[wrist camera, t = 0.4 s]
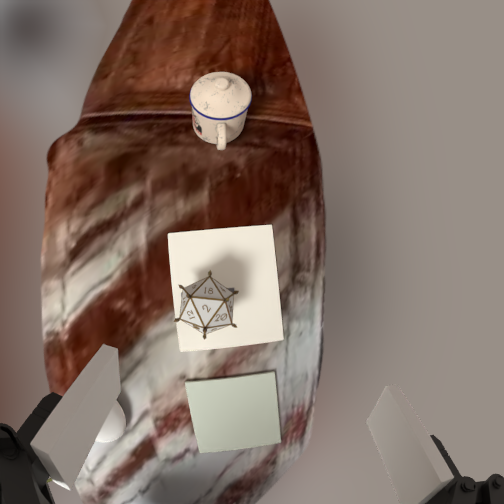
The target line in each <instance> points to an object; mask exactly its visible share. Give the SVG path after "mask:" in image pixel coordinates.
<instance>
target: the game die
mask: <svg viewBox="0 0 504 504" xmlns="http://www.w3.org/2000/svg"><path fill="white" fill-rule="evenodd" d="M211 275H212V272H211V270H210V271H209V272H208V277H206V278H204V279H202V280H200V281H197V282H195V283H193V284H191V285H189V286H186V287H183V286H182V285H179V288H181V289H183V291H182V299H181V307H180V316H179V318H175V320H174V322H178V321H180V320H181V321H183V322H185V323H186V324H188V325H189V326H191V327H193V328H194V329H196V330H198V331H199V332H201V333H203V338H204V340H205V339H206V338H207V337H206V334H208V333H211V332H213V331H216V330H219V329H222V328H224V327H227V326H229V325H232V327H234V328H237V326H236V324H235V323H232V321H233V304H234V294H238V292H239V291H237V290H236V291H234V292H231V291H230V290H229V289H227V288H226V287H224V286H223V285H222V284H220V283H219V282H218V281H216V280H215V279H213V278H212V277H211Z"/></svg>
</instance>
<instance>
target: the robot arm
mask: <svg viewBox="0 0 504 504" xmlns="http://www.w3.org/2000/svg"><path fill="white" fill-rule="evenodd" d="M120 392H121V384H120V374H119V361H118V349H117V348H114V347H110V346H107V345H104V344H103V345H102V347H101V348H100V349H99V350H98V352H97V353H96V354H95V355H94V357H93V358H92V359H91V361H90V362H89V363H88V364H87V366H86V367H85V368H84V370H83V371H82V372H81V373H80V375H79V376H78V377H77V379H76V380H75V381H74V383H73V384H72V385H71V387H70V388H69V389H68V391H67V392H66V393H65V395H64V396H60V395H58V394H56V393H54V392H52V393H51V394H49V395H47V396H45V397H44V398H43V399H42V400H41V401H40V403H39V404H38V405H37V407H36V408H35V409H34V410H33V412H32V414H30V416H29V417H28V418H27V419H26V421H25V422H24V424H23V425H22V426H21V427H20V429H19V430H18V432H17V433H16V432H15V431H14V430H13V428H11V427H10V426H8V425H7V424H2V423H0V504H55V502H54V499H53V497H52V494H51V491H50V488H49V486H48V483H47V480H48V478H49V476H50V477H51V479H52V480H53V481H54V482H55V483H56V484H59V485H60V486H62V487H65V488H66V489H69V490H71V489H72V487H73V485H74V483H75V481H76V479H77V477H78V475H79V472H80V470H81V468H82V466H83V464H84V462H85V460H86V458H87V456H88V454H89V452H90V450H91V448H92V446H93V444H94V442H95V440H96V438H97V436H98V434H99V432H100V430H101V428H102V426H103V424H104V422H105V420H106V418H107V417H108V415H109V413H110V411H111V409H112V407H113V405H114V403H115V401H116V400H117V398H118V396H119V394H120ZM366 423H367V426H368V428H369V430H370V433H371V435H372V437H373V439H374V442H375V444H376V447H377V449H378V451H379V454H380V456H381V458H382V461H383V463H384V466H385V468H386V471H387V473H388V476H389V478H390V481H391V483H392V485H393V488H394V491H395V493H396V496H397V498H398V501H399V503H400V504H504V478H503V477H502V476H501V475H499V474H493V475H491V476H490V477H489V478H488V479H487V480H486V481H481V482H475V481H474V480H473V479H472V478H470V477H465V476H464V477H462V476H461V475H460V473H459V471H458V470H457V468H456V466H455V465H454V463H453V461H452V460H451V458H450V456H448V453H447V451H446V450H445V448H444V446H443V445H442V443H441V441H440V440H438V439H437V438H436V437H435V436H434V435H429V433H428V432H427V430H426V428H425V427H424V425H423V424H422V422H421V421H420V419H419V417H418V416H417V414H416V412H415V411H414V409H413V408H412V406H411V405H410V403H409V402H408V400H407V398H406V397H405V395H404V394H403V392H402V391H401V389H400V387H399V386H398V385H387V386H386V387H385V389H384V391H383V393H382V395H381V397H380V398H379V400H378V402H377V404H376V405H375V407H374V409H373V410H372V412H371V414H370V416H369V417H368V419H367V420H366Z"/></svg>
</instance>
